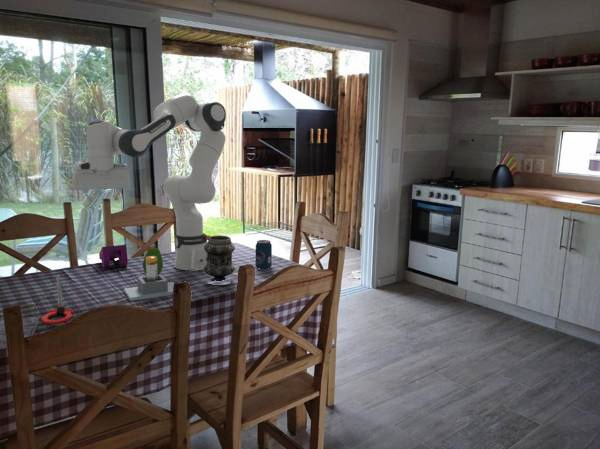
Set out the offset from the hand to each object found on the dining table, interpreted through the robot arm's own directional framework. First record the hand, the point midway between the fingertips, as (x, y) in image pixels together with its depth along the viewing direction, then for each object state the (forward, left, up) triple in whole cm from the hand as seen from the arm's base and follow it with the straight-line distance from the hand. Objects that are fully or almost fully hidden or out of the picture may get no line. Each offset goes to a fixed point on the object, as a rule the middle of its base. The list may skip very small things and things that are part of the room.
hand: (103, 200), depth 184 cm
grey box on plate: (-12, +23, -31) cm, 40 cm away
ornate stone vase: (-38, +22, -31) cm, 54 cm away
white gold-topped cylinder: (-12, +23, -30) cm, 40 cm away
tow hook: (+20, +34, -32) cm, 51 cm away
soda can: (-62, +12, -31) cm, 70 cm away
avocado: (-17, +3, -31) cm, 36 cm away
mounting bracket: (-6, -23, -32) cm, 40 cm away
